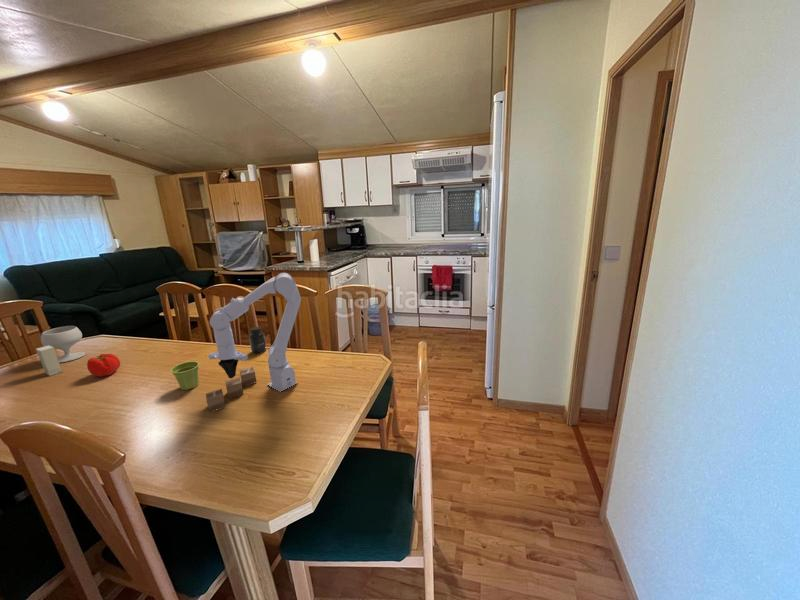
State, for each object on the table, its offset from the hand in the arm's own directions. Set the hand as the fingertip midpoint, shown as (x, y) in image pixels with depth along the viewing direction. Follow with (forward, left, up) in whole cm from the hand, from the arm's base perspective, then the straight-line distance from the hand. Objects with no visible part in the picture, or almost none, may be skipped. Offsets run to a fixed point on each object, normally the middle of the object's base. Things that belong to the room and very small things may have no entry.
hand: (232, 376), depth 119 cm
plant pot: (+21, +8, -7) cm, 24 cm away
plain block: (0, 0, -7) cm, 7 cm away
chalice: (+104, +32, -7) cm, 109 cm away
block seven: (+4, -7, -7) cm, 11 cm away
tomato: (+65, +25, -7) cm, 70 cm away
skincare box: (+88, +39, -7) cm, 97 cm away
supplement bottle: (+29, -26, -7) cm, 40 cm away
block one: (-3, +8, -7) cm, 11 cm away
